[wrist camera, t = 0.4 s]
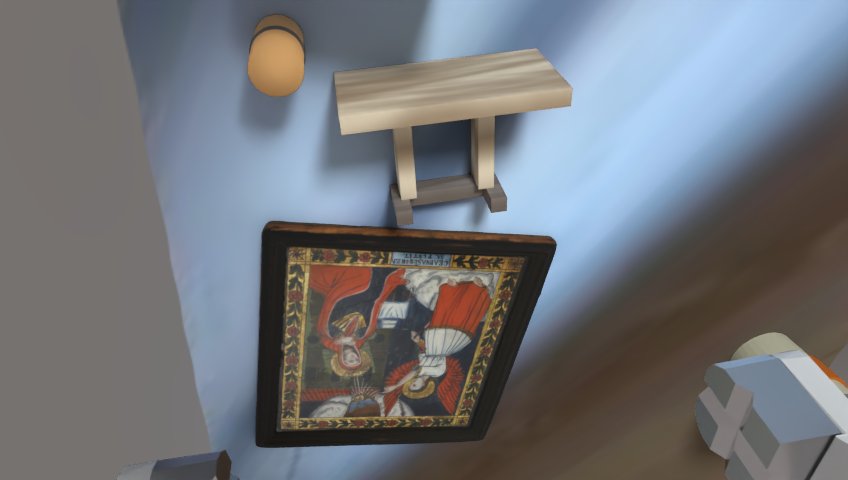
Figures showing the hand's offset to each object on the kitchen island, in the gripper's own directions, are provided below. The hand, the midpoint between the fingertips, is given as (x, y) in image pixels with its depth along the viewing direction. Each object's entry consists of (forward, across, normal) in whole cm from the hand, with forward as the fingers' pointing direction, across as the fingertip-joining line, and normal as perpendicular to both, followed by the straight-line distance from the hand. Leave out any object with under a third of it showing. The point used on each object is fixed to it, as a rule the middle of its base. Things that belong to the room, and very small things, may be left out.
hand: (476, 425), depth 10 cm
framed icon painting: (+45, 0, +45) cm, 64 cm away
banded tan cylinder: (+44, +6, +7) cm, 45 cm away
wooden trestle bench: (+44, -7, +17) cm, 48 cm away
